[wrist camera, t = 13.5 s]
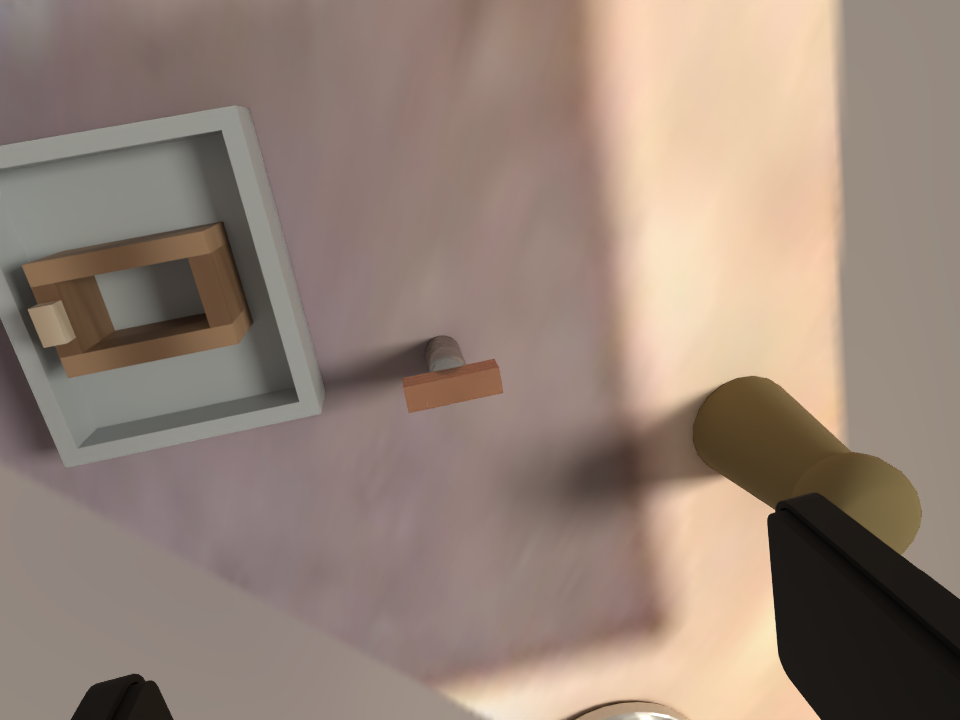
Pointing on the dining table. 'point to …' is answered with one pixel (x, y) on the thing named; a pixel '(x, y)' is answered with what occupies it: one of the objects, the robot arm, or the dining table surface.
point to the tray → (156, 281)
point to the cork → (800, 459)
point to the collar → (98, 347)
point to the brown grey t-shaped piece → (450, 378)
